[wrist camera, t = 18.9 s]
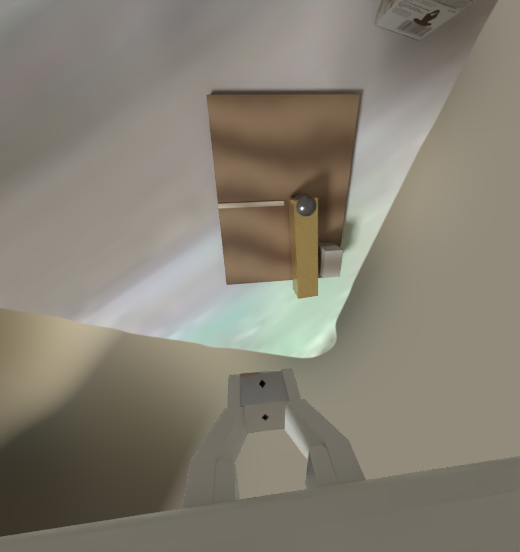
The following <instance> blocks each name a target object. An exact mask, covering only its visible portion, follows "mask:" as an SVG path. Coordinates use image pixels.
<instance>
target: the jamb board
mask: <svg viewBox="0 0 520 552" xmlns="http://www.w3.org/2000/svg"><path fill="white" fill-rule="evenodd" d="M359 99H360V94H281V95H207V103H208V113H209V122H210V132H211V141H212V151H213V160H214V170H215V179H216V188H217V198H218V208H219V217H220V226H221V236H222V245H223V255H224V264H225V274H226V283H227V285H230V284H244V283H257V282H270V281H284V280H293V278H292V260H291V242H290V224H289V206H288V198H291V197H292V196H293V195H295V194H297V193H301V194H304V195H307V196H309V195H310V196H314V197H317V198H318V278H326V277H340V270H341V263H342V255H343V250H342V249H341V248H340V245H341V238H342V230H343V222H344V215H345V207H346V199H347V191H348V184H349V176H350V168H351V161H352V153H353V145H354V137H355V130H356V122H357V114H358V107H359Z"/></svg>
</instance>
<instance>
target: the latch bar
mask: <svg viewBox="0 0 520 552" xmlns="http://www.w3.org/2000/svg"><path fill="white" fill-rule="evenodd" d="M288 206H289V224H290V242H291V260H292V278H293V289H294V291H295V293H296V295H297V297H298V299H299V298H306V297H312V296H318V198H317V197H314V196H310V195H309V196H307V195H304V194H301V193H297V194H295V195H293V196H292V197H291V198H288Z"/></svg>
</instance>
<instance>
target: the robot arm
mask: <svg viewBox="0 0 520 552" xmlns="http://www.w3.org/2000/svg"><path fill="white" fill-rule="evenodd" d="M276 429H285V431H286V432H287V433H288V435H289V436H290V437H291V439H292V440H293V441H294V443H295V444H296V445H297V447H298V448H299V449H300V450H301V452H302V453H303V455H304V456H305V457H306V459H307V460H308V463H307V472H306V480H305V486H306V489H305V490H298V491H292V492H285V493H279V494H272V495H266V496H260V497H253V498H247V499H241V500H239V488H238V481H237V474H236V467H235V461H236V458H237V456H238V454H239V452H240V450H241V447H242V445H243V443H244V440H245V438H246V436H247V434H248V433H254V432H259V431H265V430H276ZM0 552H520V456H516V457H510V458H503V459H497V460H491V461H484V462H479V463H472V464H466V465H459V466H452V467H446V468H439V469H433V470H427V471H420V472H414V473H408V474H401V475H395V476H388V477H382V478H375V479H369V480H366V479H365V477H364V475H363V472H362V470H361V468H360V465H359V463H358V461H357V458H356V457H355V454H354V452H353V449H352V447H351V444H350V442H349V440H348V439H347V438H346V437H345V436H344V435H343V434H342V433H340V432H339V431H338V430H337V429H336V428H335V427H334V426H333V425H332V424H331V423H330V422H329V421H328V420H327V419H325V418H324V417H323V416H322V415H321V414H320V413H319V412H318V411H317V410H316V409H315V408H314V407H313V406H311V405H310V404H309V403H308V402H307V401H306V400H305V399H301V396H300V393H299V390H298V386H297V383H296V380H295V377H294V374H293V370H292V369H291V368H290V369H279V370H272V371H263V372H256V373H244V374H234V375H229V377H228V408H226V409H224V410H223V411H222V413H221V414H220V416H219V418H218V419H217V421H216V422H215V424H214V425H213V427H212V428H211V430H210V432H209V433H208V435H207V436H206V438H205V439H204V441H203V442H202V444H201V445H200V447H199V449H198V450H197V452H196V453H195V455H194V456H193V458H192V459H191V461H190V465H189V471H188V477H187V484H186V490H185V496H184V503H183V509H176V510H170V511H163V512H157V513H151V514H144V515H138V516H132V517H125V518H119V519H113V520H106V521H99V522H93V523H87V524H80V525H74V526H67V527H61V528H55V529H48V530H42V531H36V532H30V533H23V534H16V535H10V536H3V537H0Z"/></svg>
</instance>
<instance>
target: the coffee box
mask: <svg viewBox="0 0 520 552" xmlns="http://www.w3.org/2000/svg"><path fill="white" fill-rule="evenodd" d="M476 1H477V0H382V1H381V4H380V7H379V11H378V14H377V17H376V21H375V24H376V25H377V26H379V27H382V28H385V29H388V30H391V31H394V32H397V33H400V34H403V35H406V36H409V37H411V38H414V39H417V40H421V39H423V38H424V37H426V36H427V35H428V34H430V33H431V32H433V31H434V30H436V29H437V28H438V27H440V26H441V25H443V24H444V23H446V22H447V21H449V20H450V19H451V18H453V17H454V16H456V15H457V14H459V13H460V12H461V11H463V10H464V9H466V8H467V7H469V6H470V5H471V4H473V3H474V2H476Z"/></svg>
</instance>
